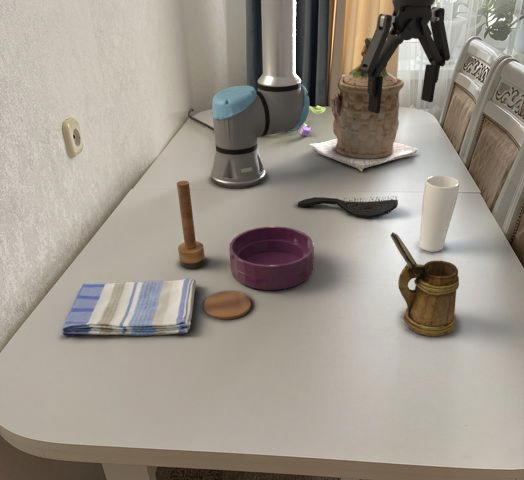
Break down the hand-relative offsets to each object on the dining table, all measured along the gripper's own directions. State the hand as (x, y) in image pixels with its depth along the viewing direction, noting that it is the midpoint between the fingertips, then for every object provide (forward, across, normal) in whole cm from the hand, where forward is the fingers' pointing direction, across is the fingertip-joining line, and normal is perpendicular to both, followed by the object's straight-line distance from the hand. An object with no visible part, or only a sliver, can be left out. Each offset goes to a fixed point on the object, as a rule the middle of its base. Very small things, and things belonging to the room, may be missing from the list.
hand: (400, 106), depth 110 cm
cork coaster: (+28, -45, -8) cm, 54 cm away
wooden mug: (+28, -18, -31) cm, 45 cm away
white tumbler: (+28, +4, -11) cm, 30 cm away
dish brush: (+28, -44, +11) cm, 53 cm away
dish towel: (+28, -61, -1) cm, 67 cm away
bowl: (+28, -31, -1) cm, 42 cm away
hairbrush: (+28, 0, +15) cm, 32 cm away
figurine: (+28, +24, +81) cm, 89 cm away
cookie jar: (+28, +28, +46) cm, 61 cm away
